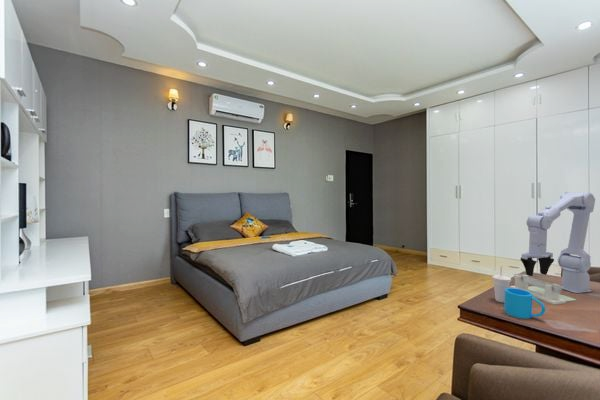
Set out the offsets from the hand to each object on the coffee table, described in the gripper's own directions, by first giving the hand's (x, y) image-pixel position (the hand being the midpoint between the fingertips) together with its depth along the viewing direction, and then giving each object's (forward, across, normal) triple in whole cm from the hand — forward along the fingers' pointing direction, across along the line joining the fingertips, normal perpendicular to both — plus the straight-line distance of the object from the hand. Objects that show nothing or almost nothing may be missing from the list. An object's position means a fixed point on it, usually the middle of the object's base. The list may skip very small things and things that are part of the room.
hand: (536, 274), depth 126 cm
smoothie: (+9, -20, -2) cm, 22 cm away
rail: (+4, 0, 0) cm, 4 cm away
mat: (+9, +7, 0) cm, 11 cm away
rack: (+9, 0, 0) cm, 9 cm away
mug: (+9, -24, -14) cm, 29 cm away
